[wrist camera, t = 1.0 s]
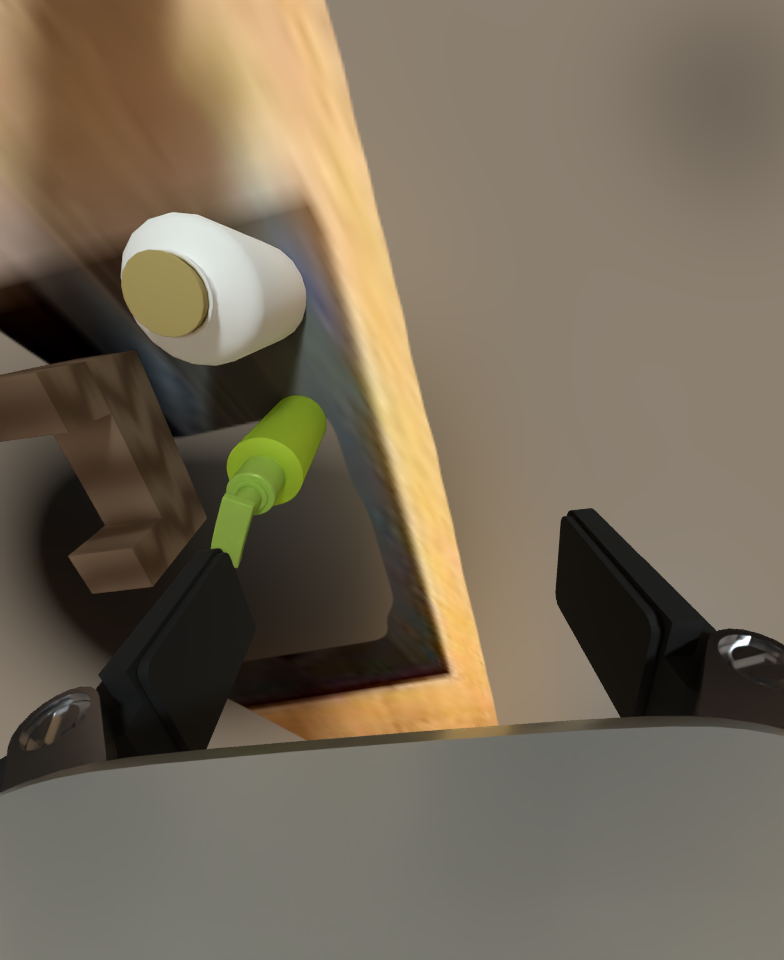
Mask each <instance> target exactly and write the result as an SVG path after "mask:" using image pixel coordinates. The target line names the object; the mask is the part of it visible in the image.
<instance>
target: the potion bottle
mask: <svg viewBox="0 0 784 960" xmlns="http://www.w3.org/2000/svg"><path fill="white" fill-rule="evenodd" d="M121 287H122V291H123V296H124V300H125V302H126V304H127V306H128V308H129V310H130V312H131V313H132V314H133V316H134V318H135V320H136V322H137V324H138V325H139V326H140V328H141V329H142V330H143V331H144V332H145V333H146V335H147V336H148V337H149V338H150V339H151V341H152V342H153V343H155V344H156V345H158V346H159V347H160V348H162V349H163V350H164V351H166V352H167V353H169V354H170V355H171V356H174V357H176V358H179V359H181V360H184V361H186V362H189V363H192V364H201V365H213V366H217V365H221V364H225V363H229V362H233V361H236V360H238V359H240V358H242V357H245V356H247V355H249V354H251V353H254V352H256V351H258V350H260V349H262V348H265V347H267V346H269V345H271V344H274V343H276V342H278V341H280V340H283V339H284V338H286V337H287V336H289V335H290V334H291V333H293V332H294V331H295V330H296V328H297V327H298V325H299V324H300V323H301V321H302V319H303V315H304V312H305V309H306V290H305V286H304V283H303V280H302V276H301V274H300V273H299V271H298V269H297V268H296V266H295V265H294V263H293V261H292V260H291V259H290V258H288V257H287V256H286V255H285V254H284V253H283V252H282V251H281V250H279V249H277V248H275V247H273V246H271V245H269V244H266V243H264V242H262V241H259V240H257V239H255V238H252V237H250V236H248V235H245V234H243V233H240V232H238V231H236V230H233V229H231V228H228V227H226V226H224V225H221V224H219V223H217V222H214V221H212V220H209V219H207V218H205V217H202V216H200V215H196V214H186V213H176V212H172V213H168V214H164V215H161V216H158V217H154V218H151V219H148V220H147V221H146V222H145V223H144V224H142V225H141V226H140V227H139V228H138V229H137V230H136V231H134V232H133V233H132V235H131V237H130V239H129V241H128V243H127V245H126V248H125V250H124V252H123V256H122V267H121Z"/></svg>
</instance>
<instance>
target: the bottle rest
mask: <svg viewBox="0 0 784 960" xmlns="http://www.w3.org/2000/svg"><path fill="white" fill-rule="evenodd" d="M52 434H53V435H54V436H55V438H56V440H57V441H58V443H59V445H60V447H61V449H62V450H63V452H64V454H65V456H66V457H67V459H68V461H69V463H70V464H71V466H72V468H73V470H74V471H75V473H76V475H77V477H78V478H79V480H80V482H81V484H82V486H83V487H84V489H85V491H86V493H87V494H88V496H89V498H90V500H91V501H92V503H93V505H94V507H95V508H96V510H97V511H98V514H99V515H100V517H101V519H102V521H103V522H104V524H105V526H104V527H103V528H102V529H100V530H99V531H98V532H97V533H96V534H94V535H93V536H92V537H91V538H90V539H88V540H87V541H86V542H85V543H84V544H82V545H81V546H80V547H79V548H78V549H76V550H75V551H74V552H73V553H71V554H70V555H69V556H68V557H69V558H70V560H71V562H72V563H73V565H74V566H75V568H76V569H77V571H78V572H79V574H80V575H81V577H82V578H83V580H84V582H85V583H86V585H87V586H88V588H89V589H90V591H91V592H92V593H93V594H94V593H102V592H112V591H120V590H128V589H137V588H146V587H153V586H154V585H155V583H156V582H157V581H158V579H159V578H160V577H161V576H162V574H163V573H164V572H165V571H166V569H167V568H168V567H169V565H170V564H171V563H172V562H173V561H174V559H175V558H176V557H177V555H178V554H179V553H180V552H181V551H182V549H183V548H184V547H185V546H186V544H187V543H188V542H189V541H190V539H191V538H192V536H193V535H194V534H195V533H196V532H197V530H198V529H199V528H200V527H201V525H202V524H203V523H204V522H205V520H206V519H207V518H206V515H205V513H204V510H203V508H202V505H201V503H200V501H199V498H198V496H197V494H196V491H195V489H194V486H193V484H192V482H191V479H190V477H189V475H188V472H187V470H186V467H185V465H184V463H183V460H182V458H181V456H180V453H179V451H178V448H177V446H176V444H175V441H174V439H173V436H172V434H171V432H170V429H169V427H168V425H167V422H166V420H165V417H164V415H163V413H162V410H161V408H160V406H159V403H158V401H157V398H156V396H155V394H154V391H153V389H152V386H151V384H150V382H149V379H148V377H147V375H146V372H145V370H144V367H143V365H142V363H141V360H140V358H139V356H138V353H137V351H136V350H131V351H125V352H118V353H111V354H104V355H98V356H91V357H84V358H78V359H73V360H69V361H64V362H59V363H54V364H50V365H45V366H41V367H36V368H31V369H26V370H21V371H17V372H12V373H8V374H3V375H0V442H2V441H9V440H16V439H23V438H31V437H38V436H45V435H52Z"/></svg>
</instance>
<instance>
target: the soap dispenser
mask: <svg viewBox="0 0 784 960" xmlns="http://www.w3.org/2000/svg"><path fill="white" fill-rule="evenodd" d="M325 431H326V417H325V414H324V412H323V410H322V409H321V407H320V406H319V405H318V404H317V403H316V402H315V401H313V400H312V399H310V398H308V397H305V396H299V395H293V396H289V397H286V398H284V399H282V400H281V401H280V402H279V403H278V404H277V405H276V406H275V407H274V408H273V409H272V410H271V411H270V412H269V413H268V414H267V415H266V416H265V417H264V418H263V419H262V420H261V421H260V422H259V423H258V424H257V425H256V426H255V427H254V428H253V429H252V430H251V431H250V432H249V433H248V434H247V435H246V436H245V437H244V438H243V440H241V441H240V442H239V443H238V445H236V446H235V447H234V449H233V450H232V451H231V453H230V455H229V457H228V461H227V473H228V477H229V480H230V481H229V483H228V485H227V488H226V494H225V495H224V496H223V498H222V502H221V506H220V509H219V513H218V517H217V521H216V525H215V529H214V534H213V539H212V544H211V549H214V548H220V549H222V550H223V552H224V553H225V552H226V553H228V554H229V555H230V557H231V560H232V563H233V566H234V567H235V568H238V565H239V563H240V561H241V557H242V552H243V548H244V544H245V541H246V537H247V533H248V530H249V526H250V523H251V519H252V516H253V515H260V514H263V513H266V512H267V511H268V510H270V508H272V506H274V505H279V504H283V503H286V502H288V501H289V500H291V499H292V498H293V497H295V496H296V494H297V493H298V492H299V490H300V488H301V486H302V484H303V481H304V479H305V477H306V475H307V472H308V470H309V468H310V466H311V463H312V461H313V459H314V456H315V454H316V452H317V450H318V447H319V445H320V443H321V440H322V438H323V436H324V434H325Z"/></svg>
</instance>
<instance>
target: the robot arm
mask: <svg viewBox="0 0 784 960" xmlns="http://www.w3.org/2000/svg"><path fill="white" fill-rule="evenodd" d="M557 567H558V568H557V579H556V580H557V581H556V600H557V604H558V606H559V608H560V610H561V612H562V613H563V615H564V617H565V619H566V621H567V622H568V624H569V626H570V628H571V630H572V631H573V633H574V635H575V637H576V638H577V640H578V642H579V644H580V646H581V648H582V649H583V651H584V653H585V655H586V656H587V658H588V660H589V662H590V663H591V665H592V667H593V669H594V671H595V672H596V674H597V676H598V678H599V680H600V681H601V683H602V685H603V687H604V689H605V690H606V692H607V694H608V696H609V698H610V699H611V701H612V703H613V705H614V706H615V708H616V710H617V712H618V714H619V715H620V717H621V718H606V719H587V720H570V721H555V722H542V723H528V724H515V725H502V726H487V727H474V728H460V729H447V730H434V731H422V732H409V733H396V734H383V735H371V736H359V737H346V738H334V739H321V740H309V741H298V742H286V743H274V744H263V745H251V746H239V747H227V748H216V749H207V746H208V744H209V742H210V739H211V737H212V734H213V732H214V729H215V727H216V725H217V722H218V720H219V717H220V715H221V713H222V710H223V708H224V705H225V703H226V701H227V698H228V696H229V694H230V691H231V689H232V687H233V684H234V682H235V679H236V677H237V675H238V672H239V670H240V667H241V665H242V663H243V660H244V658H245V655H246V653H247V651H248V648H249V646H250V644H251V641H252V639H253V636H254V633H255V623H254V620H253V617H252V614H251V612H250V609H249V606H248V604H247V601H246V598H245V595H244V593H243V590H242V587H241V585H240V582H239V579H238V576H237V574H236V571H235V568H234V566H233V563H232V560H231V557H230V555H229V554H228V553H226V552H225V553H224V552H223V550H222V549H220V548H214V549H205V550H199V551H197V552H196V553H195V554H194V555H193V557H192V558H191V559H190V560H189V562H188V563H187V564H186V565H185V567H184V568H183V569H182V570H181V572H180V573H179V574H178V576H177V577H176V578H175V579H174V580H173V582H172V583H171V584H170V586H169V587H168V588H167V589H166V590H165V592H164V593H163V594H162V596H161V597H160V598H159V599H158V601H157V602H156V603H155V604H154V605H153V607H152V608H151V609H150V611H149V612H148V613H147V614H146V616H145V617H144V618H143V619H142V621H141V622H140V623H139V624H138V626H137V627H136V628H135V630H134V631H133V632H132V633H131V634H130V636H129V637H128V638H127V639H126V641H125V642H124V643H123V644H122V646H121V647H120V648H119V650H118V651H117V652H116V653H115V654H114V656H113V657H112V658H111V659H110V661H109V662H108V663H107V665H106V666H105V667H104V668H103V669H102V671H101V672H100V673H99V676H100V678H101V680H102V682H101V683H100V685H99V686H98V687H97V689H94V688H92V687H77V688H74V689H70V690H67V691H65V692H63V693H61V694H59V695H56V696H55V697H53V698H52V699H50V700H48V701H47V702H45V703H44V704H42V705H41V706H40V707H38V708H37V709H36V710H35V711H33V712H32V713H31V714H30V715H29V716H28V717H27V718H26V719H25V720H24V721H23V722H22V723H21V724H20V725H19V726H18V728H17V729H16V731H15V732H14V734H13V735H12V737H11V740H10V742H9V745H8V750H7V756H5V757H4V758H2V759H0V960H784V645H783V644H782V643H780V642H778V641H776V640H774V639H772V638H769V637H767V636H764V635H762V634H759V633H755V632H751V631H747V630H743V629H730V628H729V629H723V630H718V631H716V630H715V629H714V628H713V627H712V626H711V625H710V624H709V623H708V622H707V621H706V620H705V619H704V618H703V617H702V616H701V615H700V614H699V613H698V612H697V611H696V610H695V609H694V608H693V607H692V606H691V605H690V604H689V603H688V602H687V601H686V600H685V599H684V598H683V597H682V596H681V595H680V594H679V593H678V592H677V591H676V590H675V589H674V588H673V587H672V586H671V585H670V584H669V583H668V582H667V581H666V580H665V579H664V578H663V577H662V576H661V575H660V574H659V573H658V572H657V571H656V570H655V569H654V568H653V567H652V566H651V565H650V564H649V563H648V562H647V561H646V560H645V559H644V558H642V557H641V556H640V555H639V554H638V553H637V552H636V551H635V550H634V549H633V548H632V547H631V546H630V545H629V544H628V543H627V542H626V541H625V540H624V539H623V538H622V537H621V536H620V535H619V534H618V533H617V532H616V531H615V530H614V529H613V528H612V527H611V526H610V525H609V524H608V523H607V522H606V521H605V520H604V519H603V518H602V517H601V516H600V515H599V514H598V513H597V512H596V511H595V510H594V509H592V508H589V509H580V510H571V511H569V512H568V514H567V516H564V517H562V519H561V526H560V540H559V553H558V566H557Z"/></svg>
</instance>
